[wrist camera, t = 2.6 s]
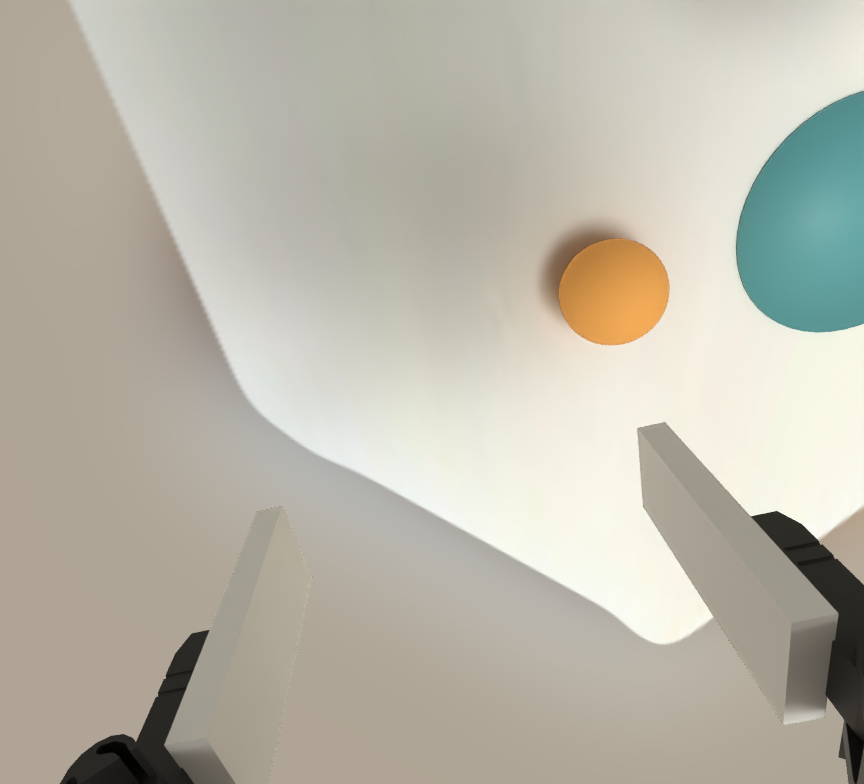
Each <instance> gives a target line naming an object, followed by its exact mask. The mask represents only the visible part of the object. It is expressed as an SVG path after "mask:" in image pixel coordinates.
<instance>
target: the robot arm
mask: <svg viewBox="0 0 864 784" xmlns="http://www.w3.org/2000/svg"><path fill="white" fill-rule="evenodd" d="M637 431H638V445H639V458H640V472H641V485H642V499H643V507H644V509H645V510H646V512H647V514H648V515H649V517H650V518H651V520H652V521H653V523H654V524H655V526H656V528H657V529H658V531H659V532H660V534H661V535H662V537H663V538H664V540H665V542H666V543H667V545H668V546H669V548H670V549H671V551H672V552H673V554H674V556H675V557H676V559H677V560H678V562H679V563H680V565H681V567H682V568H683V570H684V571H685V573H686V574H687V576H688V577H689V579H690V581H691V582H692V584H693V585H694V587H695V588H696V590H697V591H698V593H699V595H700V596H701V598H702V599H703V601H704V602H705V604H706V605H707V607H708V609H709V610H710V612H711V613H712V615H713V616H714V618H715V619H716V621H717V623H718V624H719V626H720V627H721V629H722V630H723V632H724V633H725V635H726V636H727V638H728V640H729V641H730V643H731V644H732V646H733V648H734V649H735V651H736V652H737V654H738V655H739V657H740V658H741V660H742V662H743V663H744V665H745V666H746V668H747V669H748V671H749V672H750V674H751V676H752V677H753V679H754V680H755V682H756V683H757V685H758V686H759V688H760V690H761V691H762V693H763V694H764V696H765V697H766V699H767V701H768V702H769V704H770V705H771V707H772V708H773V710H774V711H775V713H776V714H777V716H778V718H779V719H780V721H781V722H782V724H783V725H786V724H791V723H797V722H802V721H808V720H813V719H818V718H824V717H825V711H826V704H827V697H828V699H829V700H830V701H831V702H832V704H833V705H834V707H835V708H836V709H837V711H838V712H839V713H840V715H841V716H842V717H843V719H844V725H843V731H842V737H841V744H840V751H839V758H843V759H846V766H847V774H848V782H849V784H864V585H863V584H862V583H861V582H860V581H859V580H858V579H857V578H856V577H855V576H854V575H853V574H852V573H851V572H850V571H849V570H848V569H847V568H846V567H845V566H844V565H843V564H842V563H841V562H840V561H839V560H838V559H835V558H834V557H833V554H832V553H830V552H829V551H828V550H827V549H826V548H825V547H824V546H823V545H820V543H819V541H818V540H817V539H816V538H815V537H814V536H813V535H812V534H811V533H810V532H809V531H808V530H807V529H806V528H805V527H804V526H803V525H802V524H800V523H799V522H797V521H795V520H793V519H791V518H789V517H787V516H785V515H783V514H782V513H780V512H778V511H775V512H770V513H765V514H760V515H755V516H750V515H749V514H748V513H747V512H746V511H745V510H744V509H743V508H742V507H741V505H740V504H739V503H738V502H737V501H736V500H735V499H734V498H733V497H732V496H731V494H730V493H729V492H728V491H727V490H726V489H725V488H724V487H723V486H722V484H721V483H720V482H719V481H718V480H717V479H716V478H715V477H714V476H713V475H712V473H711V472H710V471H709V470H708V469H707V468H706V467H705V466H704V465H703V464H702V462H701V461H700V460H699V459H698V458H697V457H696V456H695V455H694V454H693V453H692V451H691V450H690V449H689V448H688V447H687V446H686V445H685V444H684V443H683V442H682V440H681V439H680V438H679V437H678V436H677V435H676V434H675V433H674V432H673V430H672V429H671V428H670V427H669V426H668V425H667V424H666V423H665V422H663V423H659V424H654V425H649V426H645V427H640V428H637ZM311 581H312V574H311V572H310V569H309V567H308V565H307V562H306V560H305V558H304V555H303V554H302V551H301V549H300V546H299V544H298V542H297V539H296V537H295V535H294V532H293V530H292V528H291V525H290V523H289V521H288V519H287V516H286V514H285V512H284V509H283V507H282V506H279V507H275V508H270V509H266V510H261V511H257V512H256V514H255V517H254V519H253V522H252V524H251V527H250V529H249V532H248V534H247V537H246V539H245V542H244V544H243V547H242V549H241V552H240V555H239V557H238V560H237V562H236V565H235V567H234V570H233V573H232V575H231V578H230V580H229V582H228V585H227V587H226V590H225V593H224V595H223V598H222V600H221V603H220V605H219V608H218V610H217V613H216V616H215V618H214V620H213V623H212V626H211V628H210V630H207V631H202V632H198V633H192V634H191V635H190V636H189V638H188V639H187V640H186V641H185V643H184V644H183V645H182V646H181V647H180V649H179V650H178V651H177V652H176V654H175V656H174V658H173V660H172V662H171V665H170V667H169V669H168V671H167V674H166V679H164V681H163V683H162V685H161V687H160V689H159V692H158V697H156V698H155V701H154V703H153V706H152V707H151V710H150V712H149V714H148V716H147V719H146V721H145V723H144V725H143V728H142V730H141V732H140V734H139V737H138V739H137V741H136V742H135V740H134V739H133V738H131V737H129V736H127V735H124V734H122V735H115V736H110V737H108V738H106V739H104V740H102V741H100V742H98V743H96V744H94V745H93V746H92V747H90V748H89V749H88V750H87V751H85V752H84V753H83V754H81V756H80V757H79V758H78V759H77V760H76V761H75V762H74V763H73V765H72V766H71V767H70V768H69V769H68V771H67V773H66V774H65V776H64V778H63V780H62V781H61V783H60V784H269V781H270V776H271V772H272V767H273V762H274V757H275V753H276V748H277V743H278V738H279V733H280V729H281V724H282V719H283V714H284V710H285V705H286V700H287V695H288V691H289V686H290V681H291V676H292V672H293V667H294V662H295V657H296V653H297V648H298V643H299V638H300V634H301V629H302V624H303V619H304V614H305V609H306V605H307V600H308V595H309V590H310V586H311Z"/></svg>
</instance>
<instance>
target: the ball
mask: <svg viewBox="0 0 864 784" xmlns="http://www.w3.org/2000/svg"><path fill="white" fill-rule="evenodd" d="M668 298H669V280H668V276H667V272H666V270H665V267H664V265H663V264H662V262H661V260H660V259H659V258H658V257H657V256H656V254H655V253H654V252H652V251H651V250H650V249H649V248H647V247H645V246H644V245H642V244H640V243H638V242H635V241H631V240H627V239H608V240H603V241H599V242H596V243H594V244H592V245H590V246H588V247H586V248H585V249H583V250H582V251H581V252H579V253H578V254H577V255H576V256H575V257H574V258H573V259H572V260H571V262H570V263H569V264H568V266H567V268H566V269H565V271H564V274H563V276H562V279H561V282H560V287H559V302H560V307H561V311H562V314H563V316H564V318H565V320H566V321H567V323H568V324H569V326H570V327H571V328H572V329H573V330H574V331H575V332H576V333H577V334H579V335H580V336H581V337H583V338H585V339H587V340H589V341H591V342H594V343H597V344H602V345H620V344H625V343H628V342H631V341H634V340H636V339H638V338H640V337H642V336H643V335H645V334H646V333H648V332H649V331H650V330H651V329H652V328H653V327H654V326H655V325H656V324H657V322H658V321H659V320H660V318H661V317H662V315H663V313H664V311H665V309H666V306H667V303H668Z"/></svg>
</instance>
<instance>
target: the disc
mask: <svg viewBox="0 0 864 784" xmlns="http://www.w3.org/2000/svg"><path fill="white" fill-rule="evenodd" d="M736 248H737V263H738V269H739V274H740V277H741V280H742V283H743V286H744V288H745V290H746V292H747V293H748V295H749V297H750V299H751V300H752V301H753V302H754V304H755V305H756V306H757V307H758V309H760V310H761V311H762V312H763V313H764V314H765V315H766V316H768V317H769V318H771V319H773V320H774V321H776V322H778V323H780V324H782V325H785V326H787V327H789V328H793V329H797V330H801V331H808V332H832V331H838V330H844V329H848V328H851V327H855V326H858V325H861V324H864V92H860V93H857V94H854V95H851V96H849V97H846V98H844V99H842V100H840V101H838V102H835V103H833V104H832V105H830V106H828V107H826V108H825V109H823V110H821V111H820V112H818V113H817V114H815V115H814V116H813V117H811V118H810V119H809V120H807V121H806V122H805V123H803V124H802V125H801V126H800V127H799V128H797V129H796V130H795V131H794V132H793V133H792V134H791V135H790V136H789V137H788V138H787V139H786V140H785V141H784V142H783V143H782V144H781V145H780V147H779V148H778V149H777V150H776V151H775V152H774V154H773V155H772V156H771V158H770V159H769V160H768V162H767V163H766V165H765V166H764V167H763V169H762V171H761V172H760V174H759V176H758V177H757V179H756V181H755V183H754V184H753V187H752V189H751V191H750V193H749V195H748V198H747V200H746V203H745V206H744V209H743V212H742V215H741V219H740V224H739V228H738V235H737V247H736Z"/></svg>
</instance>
